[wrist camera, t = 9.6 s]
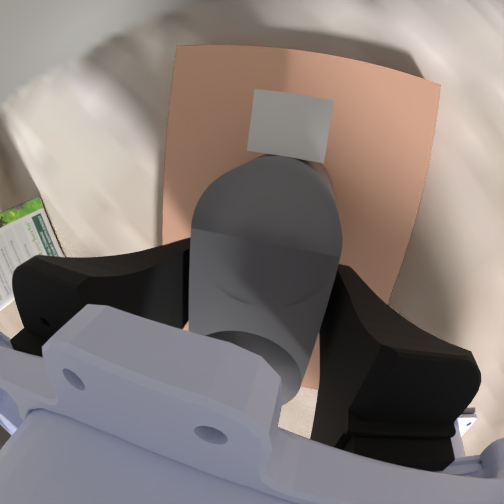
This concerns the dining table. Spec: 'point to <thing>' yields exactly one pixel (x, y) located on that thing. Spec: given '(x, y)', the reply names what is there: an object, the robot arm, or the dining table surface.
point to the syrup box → (23, 241)
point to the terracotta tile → (337, 151)
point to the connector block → (269, 239)
